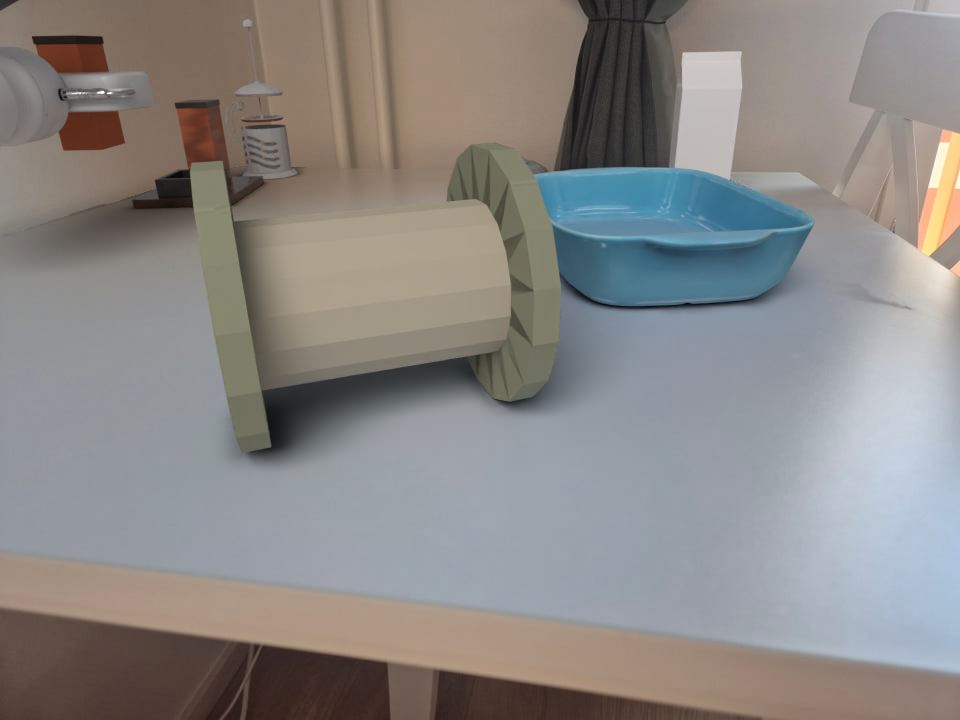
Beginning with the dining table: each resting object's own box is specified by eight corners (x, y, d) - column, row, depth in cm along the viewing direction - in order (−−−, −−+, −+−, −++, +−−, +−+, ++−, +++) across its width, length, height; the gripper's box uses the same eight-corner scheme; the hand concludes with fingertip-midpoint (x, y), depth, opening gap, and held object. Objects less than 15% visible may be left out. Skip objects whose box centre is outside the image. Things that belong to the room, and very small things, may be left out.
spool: (468, 342, 51) (462, 132, 44) (556, 440, 38) (565, 164, 32) (237, 379, 46) (193, 148, 39) (248, 506, 33) (186, 194, 27)
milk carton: (726, 210, 89) (747, 51, 81) (670, 209, 90) (685, 52, 82) (717, 199, 95) (736, 51, 87) (665, 199, 96) (679, 52, 88)
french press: (281, 179, 116) (258, 17, 106) (221, 178, 119) (193, 19, 108) (307, 170, 125) (289, 19, 115) (251, 169, 128) (228, 21, 117)
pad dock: (133, 208, 97) (110, 109, 92) (180, 185, 114) (162, 99, 108) (231, 205, 97) (214, 106, 92) (263, 183, 114) (251, 97, 108)
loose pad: (61, 150, 78) (31, 36, 73) (88, 144, 84) (61, 36, 79) (102, 150, 78) (75, 35, 73) (126, 143, 84) (102, 36, 79)
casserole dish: (507, 223, 84) (507, 164, 81) (682, 216, 86) (688, 158, 83) (565, 338, 51) (568, 245, 48) (849, 323, 53) (869, 232, 50)
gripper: (112, 59, 66) (168, 57, 78) (-102, 62, 65) (-11, 60, 78) (127, 127, 68) (179, 115, 81) (-78, 131, 68) (6, 118, 80)
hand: (84, 88), depth 79 cm, fingers closed on loose pad, 4 cm apart
